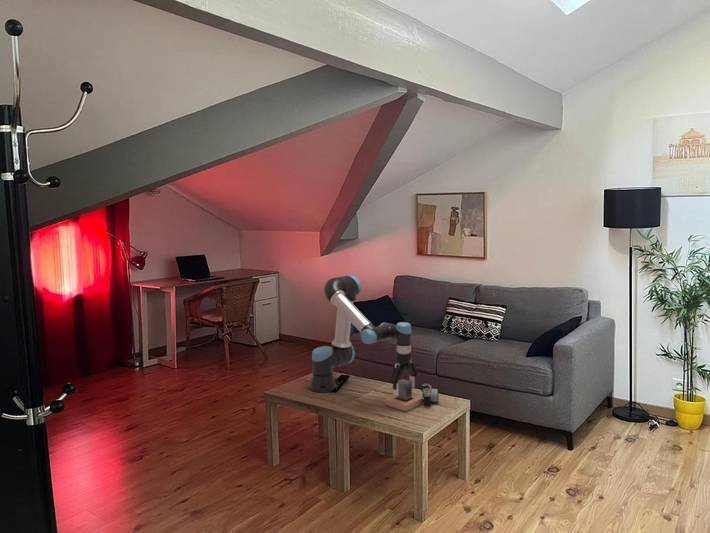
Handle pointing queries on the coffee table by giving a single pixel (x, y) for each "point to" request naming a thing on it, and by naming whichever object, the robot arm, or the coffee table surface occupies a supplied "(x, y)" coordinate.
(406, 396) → the grey wood-topped pillar
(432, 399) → the camera
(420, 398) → the pink square frame
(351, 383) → the coffee table surface
